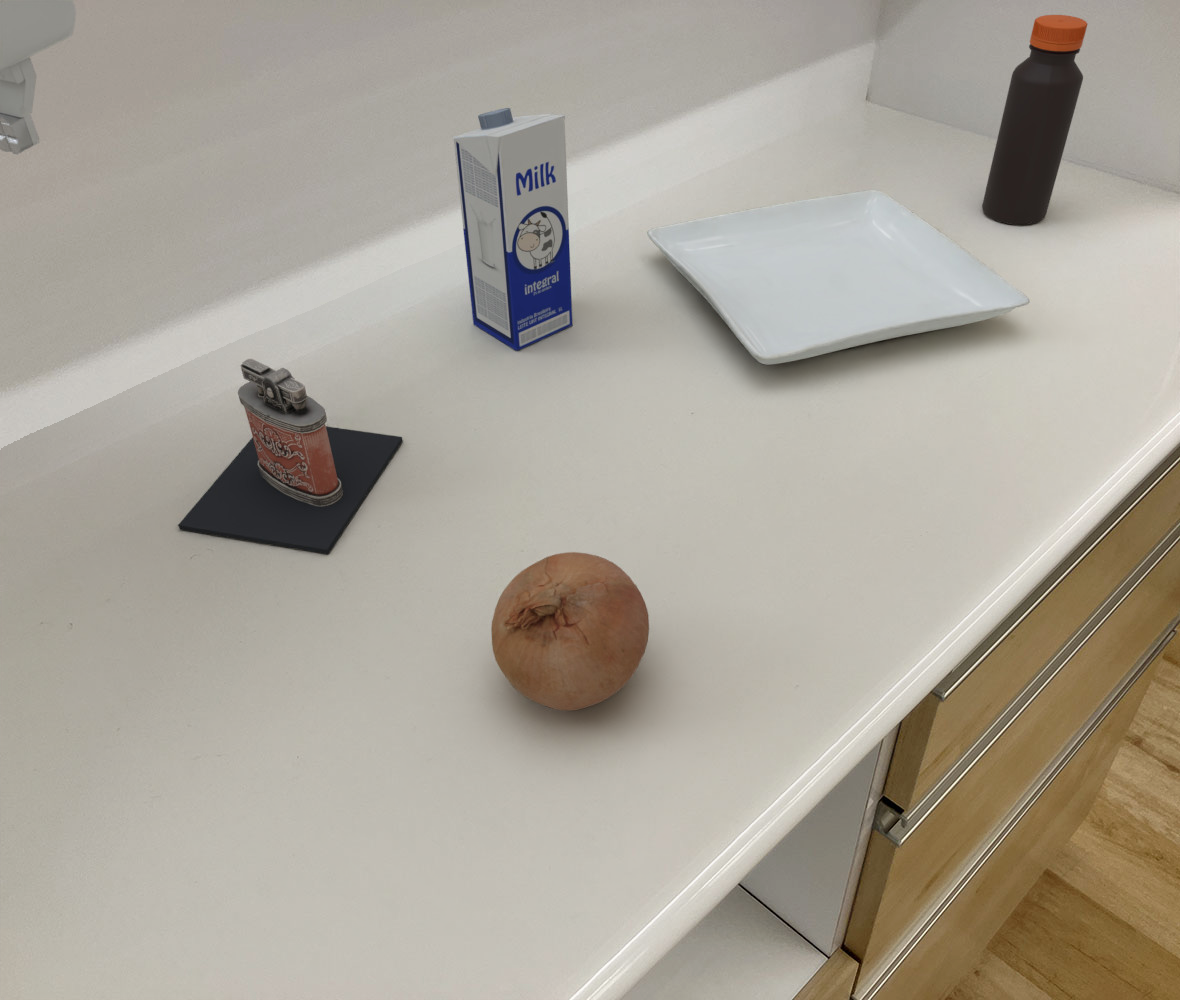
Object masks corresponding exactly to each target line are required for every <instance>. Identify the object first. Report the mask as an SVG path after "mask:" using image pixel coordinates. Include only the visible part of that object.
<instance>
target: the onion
mask: <svg viewBox="0 0 1180 1000" xmlns="http://www.w3.org/2000/svg"><path fill="white" fill-rule="evenodd" d="M649 615H650V614H649V611H648V607H647V604H646V601H645V599H644V597H643V595H642V593H641V591H640V589H639V588H638V586H637V584H635V582H634V581H633V580H632V578H631V576H629V575H628V573H626V572H625V571H624V570H623V568H621V567H620V566H619V565H617V564H615V563H614V562H613V561H611V560H609V559H607V558H604V557H602V556H599V555H596V554H591V553H586V552H576V551H571V552H561V553H555V554H552V555H549V556H546V557H544V558H542V559H540V560H537V561H536V562H534V563H532V564H531V565H529V566H528V567H526V568H524V569H522V570H521V571H520V572H519V573H518V574H516V575H515V576H514V577H513V579H511V580H510V582H509V583H508V584H507V585H506V586H505V588H504V589H503V591H502V593H501V594H500V596H499V598H498V600H497V603H496V606H495V608H494V612H493V616H492V621H491V627H490V628H491V629H490V630H491V645H492V653H493V656H494V660H495V662H496V664H497V666H498V668H499V670H501V673H502V674H503V675H504V677H505V678H506V679H507V681H508V682H509V684H510V685H511V686H512V687H513V688H514V689H515V690H516V691H517V692H519V693H520V694H521V695H522V696H524V697H525V698H527V699H529V700H531V701H532V702H535V703H537V704H540V705H541V706H545V707H548V708H551V709H554V710H559V711H577V710H581V709H585V708H587V707H591V706H595V705H597V704H600V703H601V702H604V701H605V700H607V699H608V698H610V697H612V696H613V695H615V694H616V693H617V692H618V691H620V690H621V689H622V688H623V687H624V686H625V685H626V684H627V683H628V681H630V679H631V678H632V677H633V676H634V674H635V673H636V671H637V669H638V667H639V665H640V663H641V660H642V659H643V657H644V655H645V652H646V650H647V646H648V641H649V633H650V620H649V617H650V616H649Z"/></svg>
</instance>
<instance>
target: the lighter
mask: <svg viewBox="0 0 1180 1000" xmlns="http://www.w3.org/2000/svg"><path fill="white" fill-rule="evenodd" d="M240 370H241V373H242V378H243V379H244V380H245V381H248V382H246V383H244V384H243V385H241V386H240V387H239V389H237V396H238V399H239V402H240V404H241V405H242V406H243V407H244V410H245V415H246V418H247V421H248V425H249V429H250V432H251V435H252V437H253V440H254V443H255V447H256V450H257V454H258V458H259V461H258V467H259V471H260V474H261V476H262V477H263V478H264V479H265V480H267V481H268V482H269V483H270V484H271V485H272V486H274V487H275V488H277V489H278V490H280V491H281V492H283V493H284V494H286V495H289V496H291V497H293V498H295V499H297V500H299V501H302V502H305V503H308V504H311V505H314V506H327V505H331V504H333V503H335V502H337V501H338V500H339V499H340V498H341V496H342V495H343V490H342V485H341V482H340V480H339V479H338V478H337V475H336V470H335V465H334V461H333V456H332V452H331V447H330V443H329V438H328V434H327V429H326V426H327V425H326V423H327V422H328V417H327V413H326V412H327V411H326V409H325V408H324V406H322V404H320V403H319V402H317V401H316V400H315V399H313V398H312V397H310V395H309V396H308V395H307V392H306V386H305V384H304V383H303V382H302V381H299V380H296V379H295V377H294V376H293V375H292V372H290V371H289V370H288V369H287V368H285V367H280V368H279V369H277V370H276V369H273V368H271V367H270V366H269V365H267V364H263V363H262V362H260V361H258V360H256V359H253V358H247V359H245V360H243V361H242V362H241V364H240Z"/></svg>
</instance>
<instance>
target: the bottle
mask: <svg viewBox="0 0 1180 1000" xmlns="http://www.w3.org/2000/svg"><path fill="white" fill-rule="evenodd" d="M1087 27H1088V22H1087V21H1086V20H1084V19H1082V18H1080V17H1077V16H1074V15H1073V16H1072V15H1066V14H1044V15H1040V16H1038V17H1036V18H1035V19H1034V22H1033V26H1032V30H1031V35H1030V38H1029V45H1028V48H1029V50H1030V53H1029V56H1028V57H1027V58H1025V60H1023V61H1021V63H1019V64H1017V66H1015V68H1014V70H1013V72H1012V74H1011V77H1010V82H1009V87H1008V91H1007V95H1006V96H1007V97H1006V99H1005V104H1004V108H1003V111H1002V112H1003V113H1002V117H1001V120H1000V126H999V130H998V135H997V139H996V144H995V148H994V152H993V156H992V161H991V165H990V170H989V173H988V178H987V183H986V185H985V190H984V196H983V200H982V205H981V209H982V211H983V213H984V214H985V215H986V216H987V217H988V218H990V219H992V220H994V221H996V222H1000V223H1002V224H1007V225H1013V226H1014V225H1016V226H1017V225H1018V226H1026V225H1033V224H1036V223H1039V222H1041V221H1042V220H1043V219H1045V218H1046V216H1047V213H1048V209H1049V206H1050V203H1051V198H1052V195H1053V191H1054V188H1055V184H1056V181H1057V176H1058V173H1059V169H1060V165H1061V162H1062V158H1063V154H1064V151H1065V147H1066V144H1067V139H1068V136H1069V132H1070V130H1071V129H1070V128H1071V125H1072V121H1073V118H1074V113H1075V109H1076V107H1077V104H1078V99H1079V97H1080V96H1079V95H1080V92H1081V88H1082V85H1083V80H1084V75H1083V73H1082V71H1081V70H1080V68H1079V66H1078V65H1077V63H1076V62H1075V59H1076V56H1077V54H1079V53H1080V52H1081V48H1082V46H1083V43H1084V39H1085V36H1086V35H1085V34H1086V31H1087V29H1088V28H1087Z"/></svg>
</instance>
